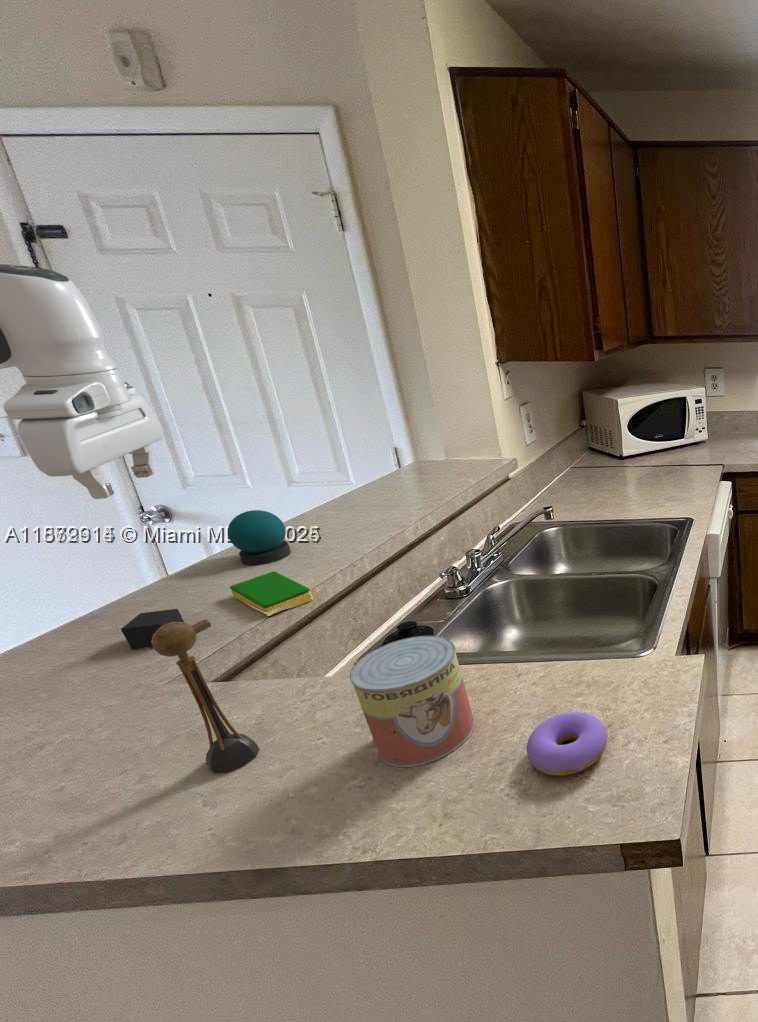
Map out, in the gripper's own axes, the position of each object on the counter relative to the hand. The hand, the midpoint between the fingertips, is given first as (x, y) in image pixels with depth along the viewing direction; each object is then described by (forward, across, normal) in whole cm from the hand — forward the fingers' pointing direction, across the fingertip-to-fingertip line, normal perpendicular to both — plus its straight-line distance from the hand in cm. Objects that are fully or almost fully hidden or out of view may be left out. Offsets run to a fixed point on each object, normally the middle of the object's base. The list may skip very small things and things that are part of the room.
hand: (126, 486), depth 91 cm
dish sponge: (+27, -11, +7) cm, 29 cm away
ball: (+26, -32, -2) cm, 41 cm away
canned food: (+26, +37, +42) cm, 62 cm away
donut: (+26, +46, +60) cm, 80 cm away
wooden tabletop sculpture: (+26, +34, +20) cm, 48 cm away
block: (+26, -1, -5) cm, 27 cm away
